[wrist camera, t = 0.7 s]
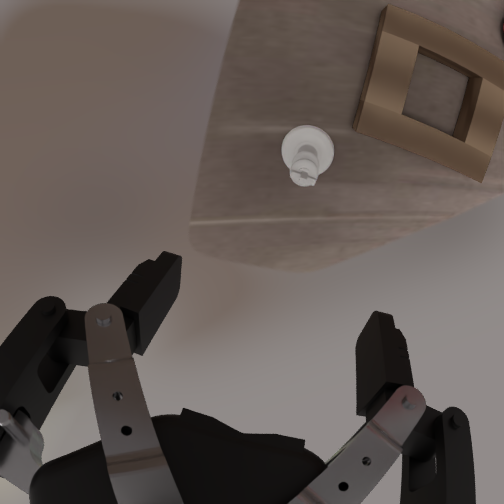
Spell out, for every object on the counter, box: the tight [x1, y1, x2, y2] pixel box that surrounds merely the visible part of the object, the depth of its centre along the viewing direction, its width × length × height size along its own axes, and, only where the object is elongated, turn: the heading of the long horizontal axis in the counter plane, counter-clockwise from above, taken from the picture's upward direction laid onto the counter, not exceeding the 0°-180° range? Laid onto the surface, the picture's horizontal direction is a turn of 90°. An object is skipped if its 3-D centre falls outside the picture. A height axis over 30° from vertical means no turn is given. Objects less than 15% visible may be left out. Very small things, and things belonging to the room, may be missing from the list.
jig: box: [352, 4, 504, 183], centre depth 21 cm, size 12×13×3 cm
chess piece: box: [281, 125, 334, 187], centre depth 24 cm, size 5×5×10 cm
